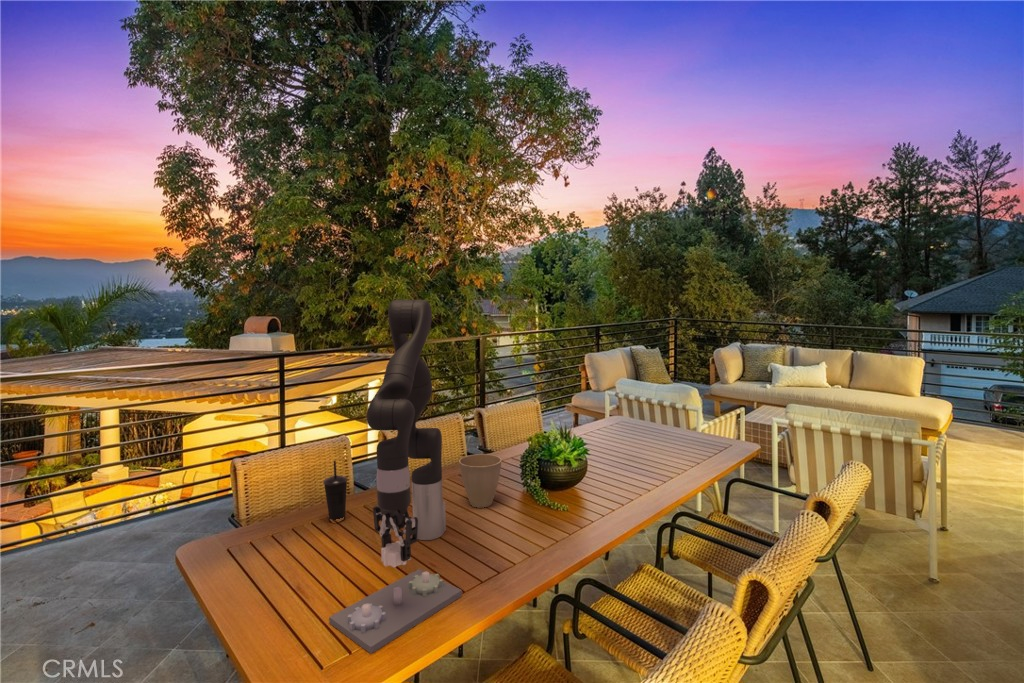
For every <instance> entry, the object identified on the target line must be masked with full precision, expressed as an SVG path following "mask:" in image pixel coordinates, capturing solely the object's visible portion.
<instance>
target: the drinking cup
mask: <svg viewBox="0 0 1024 683" xmlns="http://www.w3.org/2000/svg"><path fill="white" fill-rule="evenodd" d="M348 481H349V479H348V477H347V476H344V475H339V474H338V475H337V462H336V460H333V475H332V476H329V477H327V478H325V479H324V480H323V482H322V484H323V485H324V490H325V496H326V505H327V512H328V519H329V518H330V519H333V520H336V519H340V518H343V517H345V518H346V505H347V488H348V487H347V485H348Z"/></svg>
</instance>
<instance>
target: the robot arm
mask: <svg viewBox="0 0 1024 683" xmlns="http://www.w3.org/2000/svg"><path fill="white" fill-rule="evenodd" d="M387 312H388V314H387V316H388V325H389V329H390V335H391V340H392V344H393V349H394V353H393V355H392V356H391V357H390V358H389V360H388V362H387V365H386V367H385V371H384V375H383V378H382V379H383V380H382V383H381V384H380V387H379V388H378V390H377V391H376V393H375V394H374V396H373V398H372V399H371V401H370V403H369V404H368V408H367V412H366V421H367V424H368V427H370V428H371V429H372V430H373V431H397V434H396V436H395V437H391V438H386V439H384V440H381V441H380V442H378V443H377V445H376V496H377V497H376V498H377V500H376V501H377V503H376V504H377V505H375V506H373V507H372V514H373V523H374V531H375V532H376V533H379V536H380V538H381V539H380V540H381V549H382V548H385V547H386V544H388V543H390V544H391V543H393V542H392V533H391V532H392V530H393V532H394V534H395V537H397V538H398V541H399V542H400V544H401V546H400V548H401V561H403V562H405V561H406V562H407V561H410V560H411V559H410V557H411V556H412V551H411V549H412V548H411V546H412V545H413V544H416V543H417V542H418V540H420V541H432V540H436V539H438V538H441V537H442V536H443V535H444V532H446V531H447V519H446V518H447V517H446V516H447V514H446V501H445V500H443V499H444V498H443V494H444V493H443V474H442V472H443V470H442V469H443V468H442V467H443V466H442V463H443V462H442V453H443V452H442V448H443V447H442V446H443V436H442V432H441V430H440V428H438V427H419V428H417V427H416V424H417V422H418V420H419V417H420V415H421V414H422V412H423V411H424V409H425V407H426V406H427V404H428V403H429V402H430V399H431V397H432V393H433V387H432V386H433V385H432V375H431V372H430V371H431V370H430V369H429V367H428V366H427V364H426V363H425V361H423V359H422V358H421V357H420V356H421V354H422V351H423V349H424V347H425V344H426V341H427V338H428V336H429V333H430V330H431V326H432V321H433V320H432V319H433V314H432V313H433V312H432V307H431V304H430V303H429V301H428V300H425V299H394V300H392V301H390V303H389V305H388V310H387ZM408 335H411V336H410V337H409V338H408ZM409 459H415V460H419V459H420V460H421V459H422V460H425V459H427V460H428V459H429V460H430V461H429V462H428V463H426V464H424V465H422V466H419V467H417V468H415V469H414V470H412V472H410V466H409ZM411 496H412V497H411ZM411 502H412V517H411V516H410V514H409V510H408V508H409V506H410V505H411ZM380 521H381V522H380ZM402 529H404V530H402ZM401 530H402V531H401ZM404 535H405V539H404ZM411 558H412V557H411ZM409 559H410V560H409Z"/></svg>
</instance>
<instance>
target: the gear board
mask: <svg viewBox="0 0 1024 683" xmlns="http://www.w3.org/2000/svg"><path fill="white" fill-rule="evenodd" d="M461 597H463V590H462V589H460V588H458V587H456V586H454V585H452V584H450V583H449V582H446V581H444V580H443V578H440V574H439V573H435V574H433V573H430V572H429V571H427V570H426V571H425V570H422V569H421V568H418V569H416V570H415V571H412V572H410V573H409V574H407V575H404V576H403V577H402V578H399V579H397V580H396V581H393V582H392V583H390V584H388V585H386V586H384V587H382V588H380V589H379V590H376V591H375V592H372V593H371V594H369V595H367V596H366V597H364V598H362V599H360V600H358V601H356V602H354V603H352V604H351V605H349V606H347V607H345V608H342V609H341V610H339V611H338V612H336V613H334V614H332V615H330V616H328V621H329V622H328V623H329V625H331V626H333V628H335V629H336V628H337V629H336V630H338V631H339V632H341V633H342V634H343V635H344V636H346V637H347V638H348V639H350V640H351V641H353V642H354V643H356V644H357V645H358V646H359V647H361V648H362V649H364V650H365V651H366V652H368V653H369V654H371V655H372V654H374V653H375V652H376V651H378V650H380V649H382V648H383V647H384V646H386V645H387V644H389V643H391V642H392V641H394V640H395V639H397V638H398V637H400V636H402V635H403V634H406V632H408V631H409V630H411V629H412V628H414V627H415V626H417V625H419V624H421V623H422V622H424V621H425V620H427V619H428V618H430V617H432V616H433V615H435V614H436V613H438V612H440V611H441V610H442V609H444V608H446V607H448V606H449V605H450V604H452V603H454V602H455V601H457V600H458V599H460V598H461ZM373 652H374V653H373Z"/></svg>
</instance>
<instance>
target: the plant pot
mask: <svg viewBox="0 0 1024 683" xmlns="http://www.w3.org/2000/svg"><path fill="white" fill-rule="evenodd" d="M458 463H459V469H460V475H461V479H462V483H463V487H464V490H465V493H466V496H467V498H468V501H469V504H470V506H471V505H472V506H471V507H473V508H476V507H477V508H478V509H485V508H488V507H490V506H491V505H492V504H493V501H494V498H495V495H496V492H497V488H498V485H499V484H498V483H499V479H500V473H501V468H502V458H501V457H500V456H498V455H494V454H487V453H481V454H480V453H478V454H470V455H466V456H463V457H461V458H460V459H459V461H458ZM484 507H485V508H484Z"/></svg>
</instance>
